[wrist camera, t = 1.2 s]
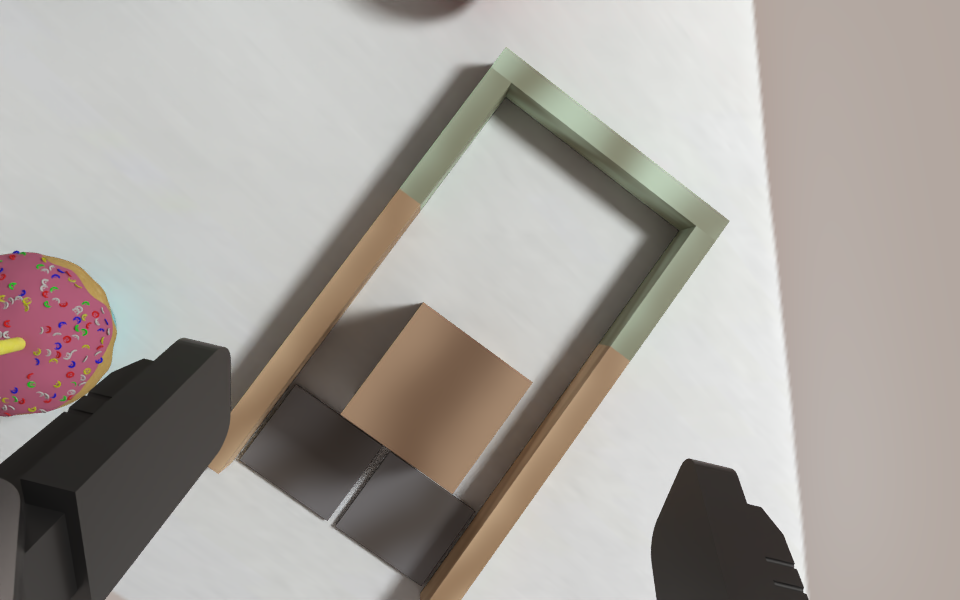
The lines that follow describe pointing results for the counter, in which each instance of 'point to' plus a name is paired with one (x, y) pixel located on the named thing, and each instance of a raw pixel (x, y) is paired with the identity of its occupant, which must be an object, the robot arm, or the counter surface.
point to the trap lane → (441, 516)
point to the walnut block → (436, 398)
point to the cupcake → (50, 333)
